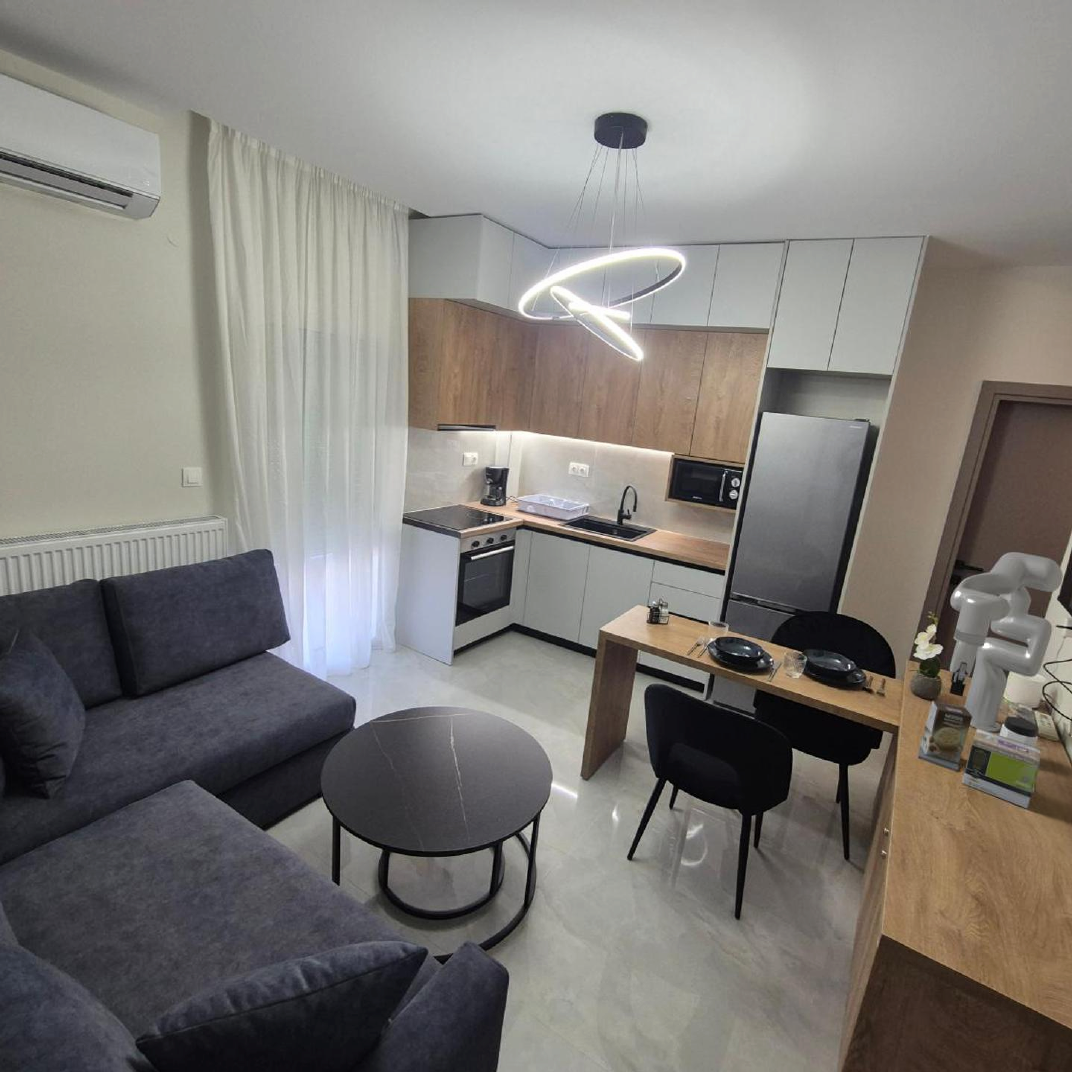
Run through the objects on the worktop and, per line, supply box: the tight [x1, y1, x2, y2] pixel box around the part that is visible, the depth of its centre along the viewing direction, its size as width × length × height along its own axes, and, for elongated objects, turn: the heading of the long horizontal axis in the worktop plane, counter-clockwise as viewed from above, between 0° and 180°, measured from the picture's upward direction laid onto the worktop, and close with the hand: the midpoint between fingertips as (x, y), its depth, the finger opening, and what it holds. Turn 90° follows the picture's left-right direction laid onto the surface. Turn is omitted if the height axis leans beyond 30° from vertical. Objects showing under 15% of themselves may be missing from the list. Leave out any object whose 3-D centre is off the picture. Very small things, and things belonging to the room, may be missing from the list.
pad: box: [917, 745, 959, 772], centre depth 180 cm, size 12×10×1 cm
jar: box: [999, 716, 1040, 747], centre depth 182 cm, size 9×8×12 cm
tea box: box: [962, 728, 1042, 809], centre depth 164 cm, size 15×10×15 cm
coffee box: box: [920, 700, 972, 764], centre depth 178 cm, size 9×6×16 cm
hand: (956, 689), depth 175 cm, fingers open, 9 cm apart
